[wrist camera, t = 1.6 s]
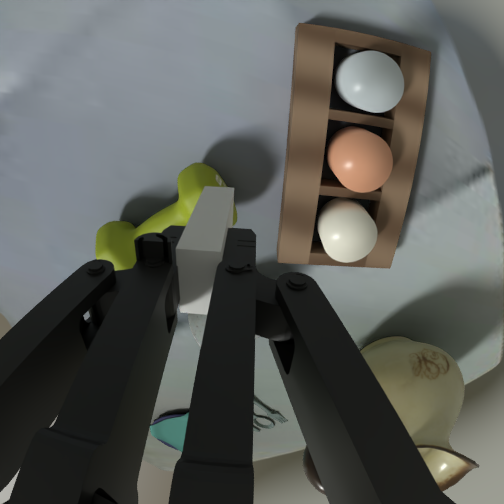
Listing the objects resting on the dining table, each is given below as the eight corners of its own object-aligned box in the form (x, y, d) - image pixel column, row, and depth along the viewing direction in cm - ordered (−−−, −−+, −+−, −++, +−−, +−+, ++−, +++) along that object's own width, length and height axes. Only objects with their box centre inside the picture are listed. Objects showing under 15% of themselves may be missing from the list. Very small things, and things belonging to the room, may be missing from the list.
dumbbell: (209, 149, 34) (197, 166, 28) (246, 207, 37) (243, 236, 31) (103, 219, 38) (78, 247, 32) (140, 266, 42) (122, 299, 35)
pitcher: (446, 365, 52) (489, 471, 30) (340, 412, 58) (355, 523, 37) (428, 288, 43) (502, 427, 21) (290, 353, 49) (299, 503, 28)
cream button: (320, 194, 35) (327, 208, 31) (371, 199, 35) (382, 213, 31) (313, 243, 38) (318, 261, 34) (360, 246, 38) (370, 263, 34)
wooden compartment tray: (295, 27, 27) (299, 22, 24) (418, 53, 27) (431, 52, 24) (276, 249, 40) (277, 262, 37) (382, 255, 40) (390, 268, 37)
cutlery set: (135, 419, 63) (133, 427, 61) (240, 380, 54) (239, 391, 52) (194, 453, 71) (194, 460, 69) (297, 423, 62) (298, 431, 60)
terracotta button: (329, 122, 31) (338, 128, 27) (382, 130, 31) (397, 137, 27) (322, 177, 34) (330, 189, 30) (374, 183, 34) (386, 195, 30)
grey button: (335, 48, 27) (346, 44, 23) (390, 60, 27) (406, 58, 23) (331, 103, 30) (340, 107, 26) (385, 113, 30) (400, 118, 26)
